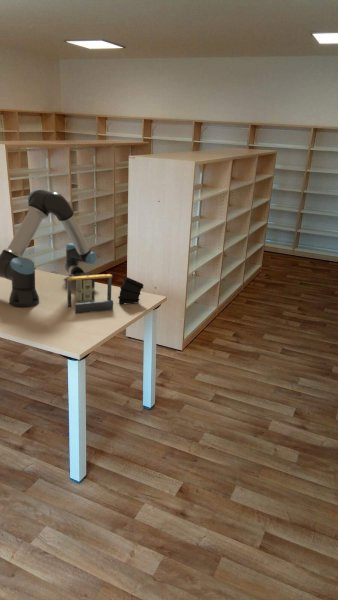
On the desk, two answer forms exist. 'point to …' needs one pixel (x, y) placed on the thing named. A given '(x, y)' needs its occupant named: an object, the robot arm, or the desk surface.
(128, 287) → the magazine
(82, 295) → the coffee can
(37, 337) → the desk surface
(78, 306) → the retention bracket
